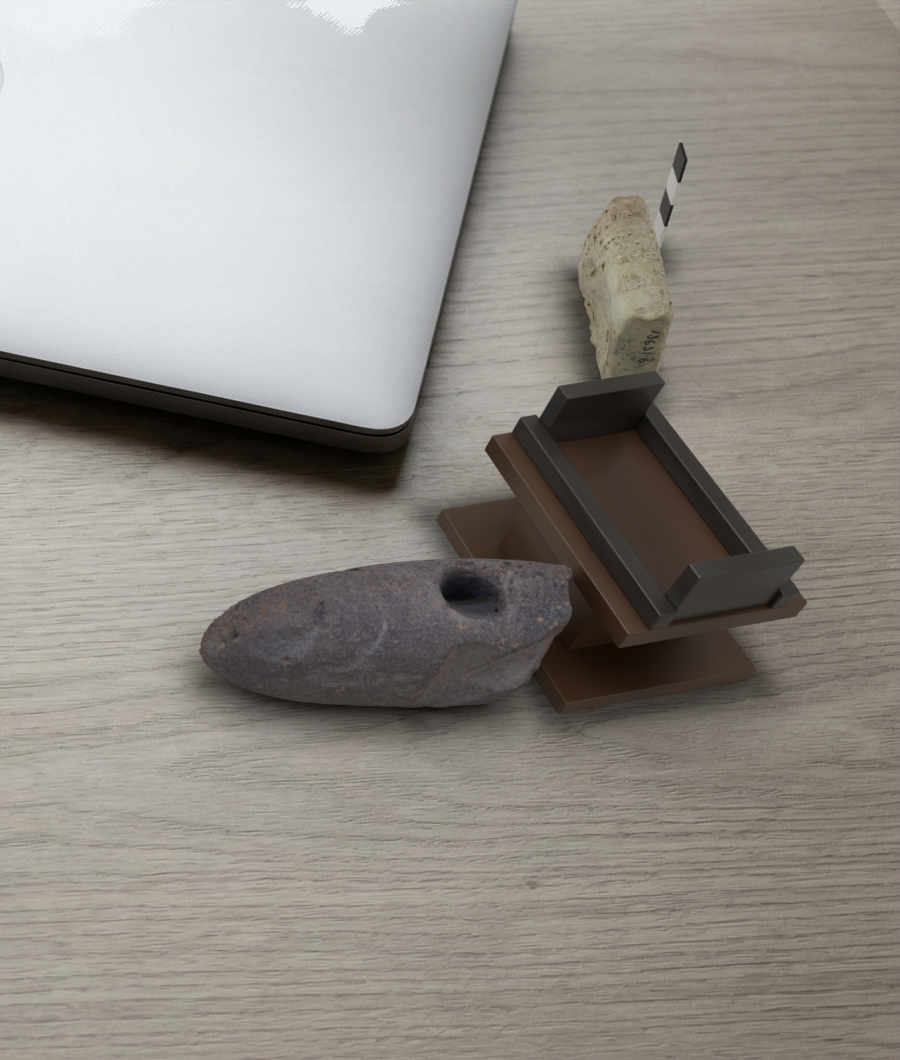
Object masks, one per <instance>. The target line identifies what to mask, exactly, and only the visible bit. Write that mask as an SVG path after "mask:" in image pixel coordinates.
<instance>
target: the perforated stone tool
mask: <svg viewBox="0 0 900 1060" xmlns="http://www.w3.org/2000/svg"><path fill="white" fill-rule="evenodd" d="M572 579H573V573H572V569H571V568H569V567H567V566H566V565H560V564H558V565H555V564H546V563H542V562H531V561H523V560H502V559H481V558H480V559H477V558H471V559H464V558H463V559H461V558H432V559H431V558H430V559H422V560H420V559H419V560H405V561H394V562H385V563H375V564H369V565H362V566H357V567H350V568H346V569H343V570H334V571H328V572H324V573H320V574H319V573H318V574H315V575H310V576H306V577H301V578H297V579H294V580H289V581H287V582H283V583H280V584H277V585H274V586H272V587H268V588H265V589H263V590H260V591H258V592H254V594H253V593H252V594H251V595H249V596H247V597H246V598H244V599H241V600H239V601H237V602H236V603H235V604H233V605H231V606H229V608H228V609H226V610H224V611H223V613H221V615H218V616H217V617H215V618H213V621H212V622H211V623H209V625H208V626H207V628H206V630H205V631H204V632H203V635H202V637H201V641H200V643H199V644H200V645H199V646H200V648H199V649H198V652H199V653H198V654H199V655H200V656H201V659H202V661H203V663H204V664H205V666H206V667H207V668H209V669H210V670H211V671H212V672H213V673H214V674H216V676H218V677H220V678H221V679H222V680H225V681H228V683H231V684H234V685H235V686H237V687H239V688H242V689H245V690H248V691H251V692H254V693H256V694H260V695H263V696H267V697H272V698H276V699H282V700H286V701H292V702H300V703H309V704H320V705H338V706H339V705H344V706H345V705H346V706H354V707H386V708H387V707H388V708H390V707H397V708H422V707H429V708H434V709H435V708H442V709H445V708H450V707H457V706H478V705H488V704H492V703H493V702H496V701H498V700H501V699H504V698H506V697H510V696H511V695H513V694H514V693H516V692H517V691H518V690H520V689H521V688H523V687H526V685H527V684H528V683H529V682H530V681H531V679H532V677H533V676H534V674H533V673H534V671H536V670H538V669H539V666H540V662H541V659H542V658H543V657H544V655H545V653H546V652H547V650H548V648H549V646H550V645H551V643H552V641H553V638H554V637H555V636H556V635H557V634H559V633H561V631H562V630H563V629H564V627H565V626H567V623H568V622H569V621H570V618H571V614H572V607H571V604H570V601H569V593H568V591H569V588H568V584H569V583H570V582H571V581H572Z"/></svg>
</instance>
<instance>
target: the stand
mask: <svg viewBox="0 0 900 1060" xmlns="http://www.w3.org/2000/svg"><path fill="white" fill-rule="evenodd" d="M665 385H666V382H665V380H664V379H663V377H662V376H661V375H660V374H659V372H658V373H657V372H656V371H649V372H643V373H637V374H630V375H624V376H618V377H611V378H605V379H601V378H600V379H593V380H586V381H580V382H575V383H568V384H567V383H566V384H561V385H558V386H557V387H556V389H555V391H554V392H553V394H552V395H551V398H550V399H549V401H548V403H547V404H546V405H545V407H544V410H542V412H541V414H540V416H538V415H537V414H530V415H525V416H521V417H519V418H518V420H517V422H516V424H515V425H514V427H513V429H512V431H510V432H504V433H497V434H493V435H491V437H490V439H489V441H488V442H487V444H486V446H485V447H484V452H485V453H486V455H487V456H488V457H489V460H490V461H491V462H492V464H493V465H494V466H495V468H496V469H497V471H498V472H499V474H500V476H501V477H502V478H503V480H504V481H505V483H506V484H507V486H508V487H509V488H510V490H511V492H512V493H513V494H514V497H509V498H501V499H496V500H490V501H485V502H484V501H483V502H477V503H472V504H465V505H460V506H453V507H447V508H442V509H441V510H440V512H439V514H438V515H437V517H436V518H435V519H436V522H437V524H438V525H439V527H440V528H441V530H442V532H443V533H444V535H445V536H446V538H447V539H448V541H449V543H450V544H451V546H452V547H453V549H454V550H455V553H457V555H458V557H459V559H463V558H464V559H471V558H477V559H480V558H481V559H502V560H523V561H531V562H542V563H546V564H555V565H558V564H560V565H566V566H567V567H569V568H571V569H572V573H573V579H572V581H571V582H570V583H569V584H568V588H569V591H568V593H569V601H570V604H571V607H572V614H571V618H570V621H569V622H568V623H567V626H565V627H564V629H563V630H562V631H561V633H559V634H557V635H556V636H555V637H554V638H553V641H552V643H551V645H550V646H549V648H548V650H547V652H546V653H545V655H544V657H543V658H542V659H541V662H540V666H539V669H538V670H536V671H534V673H533V676H534V677H535V679H536V681H537V682H538V684H539V685H540V687H541V689H542V690H543V692H544V694H545V695H546V697H547V698H548V700H549V702H550V703H551V705H552V706H553V708H554V709H555V711H556V713H557V714H559V715H562V714H569V713H574V712H579V711H585V710H590V709H596V708H600V707H607V706H612V705H617V704H622V703H628V702H634V701H640V700H644V699H645V700H646V699H651V698H655V697H656V698H657V697H660V696H667V695H672V694H677V693H683V692H688V691H695V690H700V689H705V688H711V687H717V686H722V685H726V684H733V683H739V682H743V681H748V680H749V679H750V678H751V677H752V676H754V674H755V673H756V671H757V668H756V666H755V665H754V663H752V661H751V660H750V658H749V657H748V656H747V654H746V653H745V652H744V650H743V649H742V648H741V646H740V645H739V643H738V642H737V640H736V639H735V638H734V637H733V635H732V634H731V632H730V631H729V629H735V628H741V627H745V626H752V625H757V624H762V623H768V622H773V621H779V620H785V619H792V618H796V617H797V616H798V615H799V614H800V613H801V611H802V610H803V609H804V608H805V607H806V606H807V604H808V601H807V600H806V598H805V597H804V596H803V594H802V593H801V591H800V589H799V588H798V586H797V585H796V584H795V583H794V582H793V580H792V579H791V578H792V577H793V576H794V575H795V573H797V571H798V570H799V569H800V568H801V566H802V565H804V563H805V562H806V560H805V558H804V556H803V555H802V554H801V552H800V551H799V550H798V549H797V548H796V546H795V545H789V546H784V547H778V548H777V547H776V548H772V549H768V548H767V547H766V545H765V544H764V543H763V541H762V540H761V539H760V538H759V536H758V535H757V534H756V533H755V531H754V530H753V528H752V527H751V526H750V525H749V524H748V522H747V520H745V518H744V517H743V516H742V515H741V513H740V511H738V509H737V508H736V507H735V505H734V504H733V503H732V502H731V500H730V499H729V498H728V496H727V495H726V494H725V493H724V491H723V490H722V489H721V488H720V486H719V485H718V483H717V482H716V481H715V480H714V479H713V477H712V476H711V474H710V473H709V472H708V471H707V470H706V468H705V467H704V466H703V464H702V463H701V462H700V461H699V459H698V458H697V456H696V455H695V454H694V453H693V451H692V450H691V449H690V447H689V446H688V445H687V444H686V442H685V441H684V439H682V437H681V436H680V435H679V433H678V432H677V431H676V430H675V428H674V427H673V425H672V424H671V423H670V422H669V421H668V419H667V418H666V417H665V415H664V414H663V412H661V410H660V408H658V406H657V405H656V404H655V402H654V401H655V400H656V398H657V397H658V395H659V394H660V392H662V389H663V388H664V387H665Z"/></svg>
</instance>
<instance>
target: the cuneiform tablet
mask: <svg viewBox="0 0 900 1060" xmlns="http://www.w3.org/2000/svg"><path fill="white" fill-rule="evenodd" d="M688 160H689V159H688V156H687V153H686V150H685V146H684V143H683V142H678V145H677V149H676V152H675V155H674V159H673V161H672V165H671V169H670V172H669V175H668V177H667V178H668V179H667V182H666V185H665V188H664V192H663V195H662V198H661V201H660V204H659V205H660V206H659V209H658V212H657V216H656V218H655V222H654V225H653V222H652V220H651V217H650V216H651V215H650V213H649V211H650V210H649V206H648V204H647V202H646V200H645V199H644V197H642V196H640V195H637V194H636V195H630V196H622V195H621V196H616V197H614V198H612V199H611V200H610V202H608V203H607V205H606V207H604V209H603V211H602V212H601V214H600V215H599V217H598V218H597V219H596V220H595V222H594V223H593V225H592V226H591V228H590V230H589V232H588V233H587V235H586V237H585V239H584V242H583V246H582V248H581V252H580V254H579V257H578V264H577V275H578V287H579V290H580V291H579V292H580V293H581V295H582V297H583V298H584V303H583V305H584V307H585V310H586V315H587V316H588V318H589V320H590V324H589V325H588V328H589V330H590V334H591V336H590V338H589V340H590V343H591V344H592V345H593V346H594V347H595V350H596V351H595V360H596V364H597V365H596V366H597V368H598V371H599V375H600V379H605V378H611V377H618V376H624V375H630V374H637V373H643V372H649V371H656V372H657V373H658V374H659V371H660V367H661V363H662V359H663V358H662V356H663V353H664V349H665V348H666V342H667V337H668V335H669V334H670V329H671V326H672V323H673V321H674V319H675V318H674V317H675V316H674V315H675V313H674V311H675V306H674V303H673V301H672V298H671V293H670V289H669V285H668V281H667V279H666V271H665V268H664V259H663V257H662V255H661V254H662V253H661V248H662V245H663V242H664V238H665V235H666V232H667V229H668V226H669V222H670V220H671V216H672V212H673V210H674V206H675V203H676V200H677V197H678V193H679V190H680V187H681V184H682V180H683V177H684V174H685V170H686V167H687V165H688Z"/></svg>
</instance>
